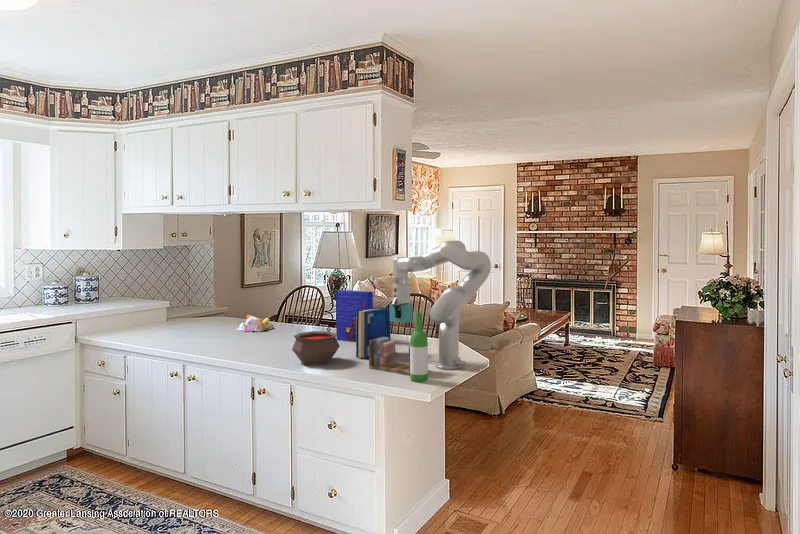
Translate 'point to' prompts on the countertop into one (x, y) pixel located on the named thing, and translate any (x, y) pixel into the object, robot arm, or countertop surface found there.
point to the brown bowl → (315, 347)
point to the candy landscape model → (255, 324)
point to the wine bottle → (418, 352)
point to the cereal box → (350, 312)
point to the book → (371, 328)
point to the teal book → (402, 313)
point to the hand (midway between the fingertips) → (401, 316)
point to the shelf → (386, 356)
